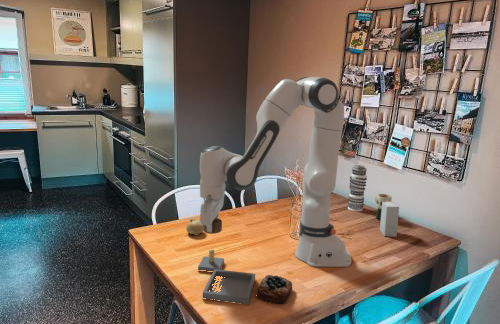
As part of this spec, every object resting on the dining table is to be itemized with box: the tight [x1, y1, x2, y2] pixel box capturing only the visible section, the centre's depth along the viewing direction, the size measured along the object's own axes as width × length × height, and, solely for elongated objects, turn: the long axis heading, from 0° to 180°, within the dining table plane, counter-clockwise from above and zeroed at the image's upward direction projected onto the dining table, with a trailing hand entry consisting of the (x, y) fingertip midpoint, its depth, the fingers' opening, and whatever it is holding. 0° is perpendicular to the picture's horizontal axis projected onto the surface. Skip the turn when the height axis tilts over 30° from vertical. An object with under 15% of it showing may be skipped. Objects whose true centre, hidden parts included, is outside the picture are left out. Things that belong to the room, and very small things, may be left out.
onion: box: [186, 218, 204, 235], centre depth 165 cm, size 8×8×7 cm
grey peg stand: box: [197, 248, 225, 271], centre depth 135 cm, size 8×8×7 cm
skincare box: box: [379, 201, 400, 238], centre depth 171 cm, size 8×6×15 cm
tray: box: [202, 269, 256, 305], centre depth 122 cm, size 15×15×2 cm
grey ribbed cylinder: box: [347, 164, 368, 212], centre depth 203 cm, size 9×9×25 cm
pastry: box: [255, 274, 293, 305], centre depth 120 cm, size 11×12×6 cm
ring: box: [203, 217, 223, 235], centre depth 133 cm, size 6×6×4 cm
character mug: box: [374, 193, 393, 221], centre depth 190 cm, size 11×7×13 cm, turn 31°
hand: (212, 227), depth 133 cm, fingers closed on ring, 6 cm apart
